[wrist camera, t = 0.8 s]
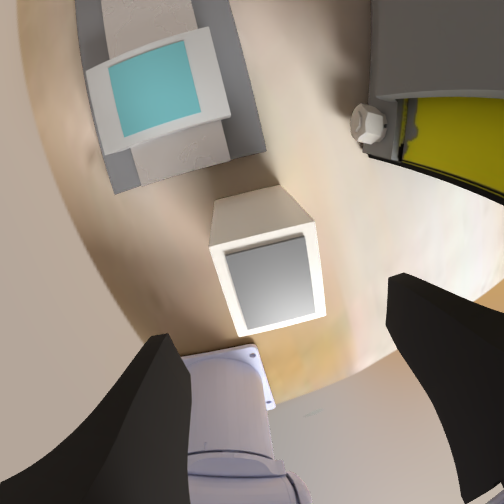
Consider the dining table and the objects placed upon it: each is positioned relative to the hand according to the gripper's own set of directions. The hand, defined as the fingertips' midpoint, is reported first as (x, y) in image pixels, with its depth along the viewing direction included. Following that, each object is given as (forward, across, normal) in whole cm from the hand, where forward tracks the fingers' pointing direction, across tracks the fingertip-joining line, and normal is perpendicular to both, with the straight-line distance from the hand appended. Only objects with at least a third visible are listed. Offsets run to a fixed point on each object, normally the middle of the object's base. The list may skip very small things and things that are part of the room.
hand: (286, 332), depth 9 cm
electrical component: (+10, -14, -10) cm, 20 cm away
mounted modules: (+8, +3, -15) cm, 17 cm away
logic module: (+10, 0, 0) cm, 10 cm away
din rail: (+10, +3, -15) cm, 18 cm away
